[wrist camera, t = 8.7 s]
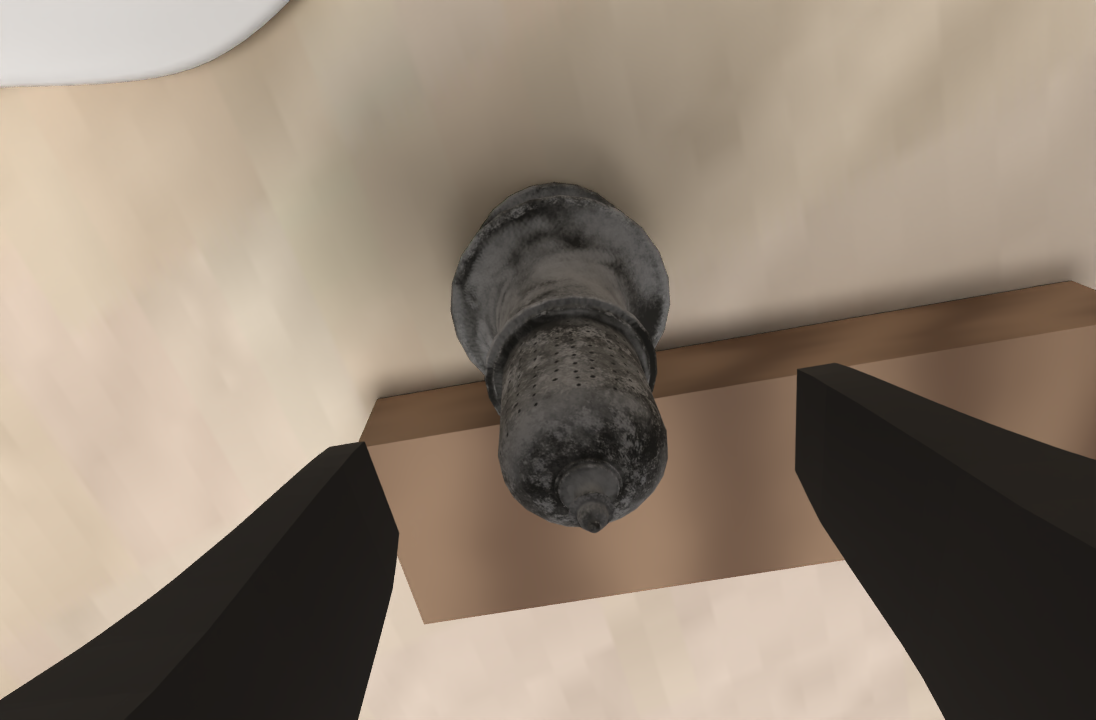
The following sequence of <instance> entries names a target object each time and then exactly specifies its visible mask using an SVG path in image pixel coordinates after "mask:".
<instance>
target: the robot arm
mask: <svg viewBox="0 0 1096 720" xmlns="http://www.w3.org/2000/svg"><path fill="white" fill-rule="evenodd" d="M795 472H796V474H797V476H798V478H799V480H800V482H801V484H802V486H803V488H804V491H805V493H806V495H807V497H808V499H809V501H810V503H811V505H812V507H813V509H814V511H815V513H816V515H817V517H818V519H819V521H820V523H821V524H822V526H823V527H824V529H825V530H826V532H827V533H828V535H829V537H830V538H831V540H832V541H833V543H834V544H835V546H836V547H837V549H838V550H839V552H840V553H841V555H842V556H843V558H844V559H845V561H846V562H847V564H848V565H849V567H850V568H851V570H852V571H853V573H854V574H855V576H856V577H857V579H858V580H859V581H860V583H861V584H862V586H863V587H864V589H865V590H866V592H867V593H868V595H869V596H870V598H871V599H872V601H873V602H874V604H875V605H876V607H877V608H878V610H879V611H880V613H881V614H882V616H883V617H884V619H885V620H886V621H887V623H888V624H889V626H890V627H891V629H892V630H893V632H894V633H895V635H896V636H897V638H898V639H899V641H900V642H901V644H902V645H903V647H904V648H905V650H906V652H907V653H908V655H909V656H910V658H911V660H912V661H913V663H914V665H915V666H916V668H917V669H918V671H919V673H920V674H921V676H922V678H923V679H924V681H925V683H926V685H927V687H928V688H929V690H930V692H931V694H932V696H933V698H934V700H935V701H936V703H937V705H938V707H939V709H940V711H941V712H942V714H943V716H944V718H945V720H1096V460H1095V459H1091V458H1088V457H1085V456H1082V455H1079V454H1076V453H1072V452H1069V451H1066V450H1063V449H1060V448H1057V447H1054V446H1051V445H1048V444H1046V443H1043V442H1040V441H1037V440H1034V439H1032V438H1029V437H1026V436H1023V435H1020V434H1017V433H1015V432H1012V431H1009V430H1006V429H1003V428H1001V427H998V426H995V425H993V424H990V423H987V422H985V421H982V420H980V419H977V418H974V417H972V416H969V415H967V414H964V413H962V412H959V411H957V410H954V409H952V408H949V407H947V406H944V405H942V404H939V403H937V402H934V401H932V400H929V399H927V398H925V397H922V396H920V395H917V394H915V393H912V392H910V391H908V390H905V389H903V388H900V387H898V386H896V385H893V384H891V383H888V382H886V381H884V380H881V379H879V378H876V377H874V376H871V375H869V374H866V373H864V372H861V371H858V370H856V369H853V368H850V367H848V366H844V365H841V364H838V363H830V364H824V365H818V366H812V367H806V368H800V369H797V391H796V438H795ZM398 542H399V530H398V528H397V525H396V523H395V520H394V517H393V515H392V512H391V509H390V507H389V504H388V501H387V499H386V496H385V494H384V491H383V488H382V486H381V483H380V480H379V478H378V475H377V472H376V470H375V467H374V465H373V462H372V459H371V457H370V454H369V451H368V449H367V446H366V443H365V441H362V442H356V443H350V444H344V445H338V446H332V447H329V448H327V449H326V450H325V451H323V452H322V453H321V454H319V455H318V456H317V457H316V458H314V459H313V460H312V461H311V462H310V463H308V464H307V465H306V466H305V467H304V468H303V469H301V470H300V471H299V472H298V473H297V474H296V475H295V476H293V477H292V478H291V479H290V480H289V481H288V482H287V483H286V484H284V485H283V486H282V487H281V488H280V489H279V490H278V491H277V492H276V493H274V494H273V495H272V496H271V497H270V498H269V499H268V500H267V501H265V502H264V503H263V504H262V505H261V506H260V507H259V508H258V509H256V510H255V511H254V512H253V513H252V514H251V515H250V516H249V517H247V518H246V519H245V520H244V521H243V522H242V523H241V524H240V525H238V526H237V527H236V528H235V529H234V530H233V531H232V532H230V533H229V534H228V535H227V536H226V537H224V538H223V539H222V540H221V541H220V542H218V543H217V544H216V545H215V546H213V547H212V548H211V549H210V550H209V551H207V552H206V553H205V554H204V555H203V556H201V557H200V558H199V559H198V560H197V561H195V562H194V563H193V564H192V565H191V566H189V567H188V568H187V569H186V570H185V571H183V572H182V573H181V574H180V575H179V576H177V577H176V578H175V579H174V580H172V581H171V582H170V583H169V584H167V585H166V586H165V587H164V588H162V589H161V590H160V591H158V592H157V593H156V594H154V595H153V596H152V597H150V598H149V599H148V600H147V601H145V602H144V603H143V604H141V605H140V606H139V607H137V608H136V609H134V610H133V611H132V612H130V613H129V614H128V615H126V616H125V617H123V618H122V619H121V620H119V621H118V622H116V623H115V624H114V625H112V626H111V627H110V628H108V629H107V630H105V631H104V632H103V633H101V634H100V635H98V636H97V637H96V638H94V639H93V640H91V641H90V642H88V643H87V644H85V645H84V646H83V647H81V648H80V649H78V650H77V651H75V652H74V653H72V654H70V655H69V656H67V657H66V658H64V659H63V660H61V661H60V662H58V663H57V664H55V665H53V666H52V667H50V668H49V669H47V670H46V671H44V672H43V673H41V674H40V675H38V676H36V677H35V678H33V679H32V680H30V681H29V682H27V683H26V684H24V685H23V686H21V687H19V688H18V689H16V690H15V691H13V692H12V693H10V694H9V695H7V696H6V697H4V698H2V699H1V700H0V720H358V717H359V714H360V710H361V706H362V703H363V699H364V695H365V691H366V688H367V684H368V680H369V677H370V673H371V669H372V665H373V662H374V658H375V654H376V651H377V647H378V643H379V639H380V636H381V632H382V628H383V624H384V620H385V617H386V613H387V609H388V605H389V601H390V597H391V593H392V589H393V582H394V575H395V568H396V560H397V551H398Z"/></svg>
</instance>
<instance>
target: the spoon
mask: <svg viewBox="0 0 1096 720" xmlns="http://www.w3.org/2000/svg"><path fill="white" fill-rule="evenodd" d="M289 1H290V0H0V88H2V87H36V86H71V85H92V84H107V83H119V82H129V81H138V80H145V79H152V78H158V77H162V76H167V75H172V74H176V73H179V72H182V71H186V70H189V69H192V68H195V67H197V66H200V65H202V64H204V63H207V62H209V61H211V60H213V59H215V58H217V57H219V56H221V55H222V54H224V53H226V52H228V51H229V50H231V49H232V48H234V47H235V46H237V45H238V44H240V43H241V42H243V41H244V40H246V39H247V38H248V37H250V36H251V35H252V34H253V33H255V32H256V31H257V30H259V29H260V28H261V27H262V26H263V25H264V24H266V23H267V22H268V21H269V20H270V19H271V18H272V17H273V16H275V15H276V14H277V13H278V12H279V11H280V10H281V9H282V8H283V7H284V6H285V5H286V4H287V3H288V2H289Z"/></svg>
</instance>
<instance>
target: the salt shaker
mask: <svg viewBox="0 0 1096 720" xmlns="http://www.w3.org/2000/svg"><path fill="white" fill-rule="evenodd" d="M669 307H670V296H669V279H668V275H667V272H666V269H665V266H664V264H663V261H662V258H661V255H660V252H659V251H658V249H657V248H656V246H655V245H654V244H653V242H652V241H651V240H650V238H649V237H648V235H647V234H646V233H645V231H644V230H643V229H642V227H640V226H639V225H638V224H637V223H635V222H634V221H633V220H631V219H630V218H629V217H627V216H626V215H625V214H624V213H622V212H621V211H620V210H618V209H616V208H615V207H614V206H613V205H612V204H610V203H609V202H608V201H606V200H605V199H604V198H602V197H601V196H600V195H599V194H597V193H595V192H593V191H590V190H588V189H585V188H583V187H580V186H578V185H572V184H563V183H554V182H553V183H547V184H541V185H534V186H530V187H528V188H526V189H523V190H521V191H519V192H517V193H515V194H512V195H510V196H509V197H508V198H507V199H505V200H504V201H503V202H502V203H501V204H499V205H498V206H497V207H496V208H495V209H493V211H492V212H491V214H490V215H489V216H488V218H487V219H486V221H485V222H484V224H483V225H482V227H481V228H480V230H479V231H478V232H477V234H476V235H475V237H474V238H473V240H472V241H471V242H470V244H469V245H468V247H467V248H466V250H465V251H464V253H463V254H462V255H461V258H460V261H459V264H458V267H457V270H456V273H455V276H454V279H453V282H452V294H451V314H452V318H453V322H454V327H455V331H456V335H457V338H458V340H459V341H460V343H461V345H462V347H463V348H464V350H465V352H466V354H467V356H468V357H469V359H470V360H471V361H472V363H473V364H474V365H475V366H476V367H477V368H478V369H479V370H480V371H481V372H482V373H483V374H484V375H485V383H486V387H487V392H488V396H489V399H490V401H491V402H492V404H493V406H494V408H495V409H496V411H497V413H498V415H499V416H500V430H499V445H498V459H499V463H500V468H501V472H502V475H503V479H504V482H505V484H506V486H507V487H508V489H509V491H510V492H511V494H512V496H513V497H514V499H516V500H517V501H518V502H519V503H520V504H521V505H522V506H523V507H524V508H525V509H526V510H528V511H530V512H532V513H533V514H535V515H537V516H539V517H541V518H543V519H545V520H547V521H548V522H551V523H555V524H559V525H563V526H566V527H581V528H582V529H584V530H586V531H590V532H591V533H597V532H599V531H600V530H602V529H603V528H604V527H605V526H606V525H607V524H608V523H610V522H613V521H615V520H618V519H621V518H622V517H624V516H626V515H627V514H629V513H631V512H632V511H634V510H636V509H637V508H638V507H639V506H640V505H641V504H642V503H643V502H644V501H645V500H646V499H647V498H648V497H649V496H650V495H651V494H652V493H653V492H654V491H655V489H656V487H657V486H658V484H659V482H660V481H661V479H662V477H663V476H664V472H665V468H666V464H667V460H668V444H667V430H666V428H665V425H664V423H663V420H662V417H661V415H660V412H659V410H658V407H657V405H656V402H655V400H654V397H653V394H652V392H653V389H654V385H655V381H656V376H657V358H656V351H655V347H656V345H657V343H658V342H659V340H660V338H661V336H662V334H663V332H664V329H665V325H666V320H667V316H668V311H669Z"/></svg>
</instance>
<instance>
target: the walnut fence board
mask: <svg viewBox="0 0 1096 720" xmlns="http://www.w3.org/2000/svg"><path fill="white" fill-rule="evenodd" d="M656 358H657V376H656V381H655V385H654V389H653V392H652V394H653V397H654V400H655V402H656V405H657V407H658V410H659V412H660V415H661V417H662V420H663V423H664V425H665V428H666V430H667V444H668V460H667V464H666V468H665V472H664V476H663V477H662V479H661V481H660V482H659V484H658V486H657V487H656V489H655V491H654V492H653V493H652V494H651V495H650V496H649V497H648V498H647V499H646V500H645V501H644V502H643V503H642V504H641V505H640V506H639V507H638V508H637V509H636V510H634V511H632V512H631V513H629V514H627V515H626V516H624V517H622V518H621V519H618V520H615V521H613V522H610V523H608V524H607V525H606V526H605V527H604V528H603V529H602V530H600V531H599V532H597V533H591V532H590V531H586V530H584V529H582V528H581V527H566V526H563V525H559V524H555V523H551V522H548V521H547V520H545V519H543V518H541V517H539V516H537V515H535V514H533V513H532V512H530V511H528V510H526V509H525V508H524V507H523V506H522V505H521V504H520V503H519V502H518V501H517V500H516V499H514V497H513V496H512V494H511V492H510V491H509V489H508V487H507V486H506V484H505V482H504V479H503V475H502V472H501V468H500V463H499V459H498V445H499V430H500V416H499V415H498V413H497V411H496V409H495V408H494V406H493V404H492V402H491V401H490V399H489V396H488V392H487V387H486V383H485V381H481V382H475V383H469V384H464V385H458V386H452V387H446V388H440V389H434V390H428V391H423V392H417V393H411V394H405V395H399V396H393V397H387V398H382V399H377V401H376V403H375V405H374V408H373V410H372V412H371V415H370V417H369V419H368V421H367V424H366V426H365V428H364V431H363V433H362V435H361V437H360V440H359V442H362V441H365V443H366V446H367V449H368V451H369V454H370V457H371V459H372V462H373V465H374V467H375V470H376V472H377V475H378V478H379V480H380V483H381V486H382V488H383V491H384V494H385V496H386V499H387V501H388V504H389V507H390V509H391V512H392V515H393V517H394V520H395V523H396V525H397V528H398V530H399V542H398V551H397V556H398V558H399V561H400V564H401V566H402V569H403V571H404V574H405V576H406V579H407V581H408V584H409V587H410V589H411V592H412V594H413V597H414V599H415V602H416V604H417V607H418V610H419V612H420V615H421V617H422V620H423V622H424V624H429V623H436V622H442V621H449V620H455V619H462V618H468V617H475V616H481V615H488V614H494V613H501V612H508V611H514V610H521V609H527V608H534V607H540V606H547V605H553V604H560V603H566V602H573V601H579V600H586V599H592V598H599V597H606V596H612V595H619V594H625V593H632V592H638V591H645V590H651V589H658V588H664V587H671V586H677V585H684V584H691V583H697V582H704V581H710V580H717V579H723V578H730V577H736V576H743V575H749V574H756V573H762V572H769V571H775V570H782V569H789V568H795V567H802V566H808V565H815V564H821V563H828V562H834V561H841V560H845V559H844V558H843V556H842V555H841V553H840V552H839V550H838V549H837V547H836V546H835V544H834V543H833V541H832V540H831V538H830V537H829V535H828V533H827V532H826V530H825V529H824V527H823V526H822V524H821V523H820V521H819V519H818V517H817V515H816V513H815V511H814V509H813V507H812V505H811V503H810V501H809V499H808V497H807V495H806V493H805V491H804V488H803V486H802V484H801V482H800V480H799V478H798V476H797V474H796V472H795V438H796V391H797V369H800V368H806V367H812V366H818V365H824V364H830V363H838V364H841V365H844V366H848V367H850V368H853V369H856V370H858V371H861V372H864V373H866V374H869V375H871V376H874V377H876V378H879V379H881V380H884V381H886V382H888V383H891V384H893V385H896V386H898V387H900V388H903V389H905V390H908V391H910V392H912V393H915V394H917V395H920V396H922V397H925V398H927V399H929V400H932V401H934V402H937V403H939V404H942V405H944V406H947V407H949V408H952V409H954V410H957V411H959V412H962V413H964V414H967V415H969V416H972V417H974V418H977V419H980V420H982V421H985V422H987V423H990V424H993V425H995V426H998V427H1001V428H1003V429H1006V430H1009V431H1012V432H1015V433H1017V434H1020V435H1023V436H1026V437H1029V438H1032V439H1034V440H1037V441H1040V442H1043V443H1046V444H1048V445H1051V446H1054V447H1057V448H1060V449H1063V450H1066V451H1069V452H1072V453H1076V454H1079V455H1082V456H1085V457H1088V458H1091V459H1095V460H1096V290H1094V289H1091V288H1089V287H1086V286H1083V285H1081V284H1078V283H1076V282H1073V281H1067V282H1061V283H1055V284H1049V285H1043V286H1037V287H1032V288H1026V289H1020V290H1014V291H1008V292H1002V293H996V294H991V295H985V296H979V297H973V298H967V299H961V300H955V301H950V302H944V303H938V304H932V305H926V306H920V307H914V308H909V309H903V310H897V311H891V312H885V313H879V314H873V315H868V316H862V317H856V318H850V319H844V320H838V321H832V322H827V323H821V324H815V325H809V326H803V327H797V328H791V329H786V330H780V331H774V332H768V333H762V334H756V335H750V336H745V337H739V338H733V339H727V340H721V341H715V342H709V343H704V344H698V345H692V346H686V347H680V348H674V349H669V350H663V351H657V352H656Z"/></svg>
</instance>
